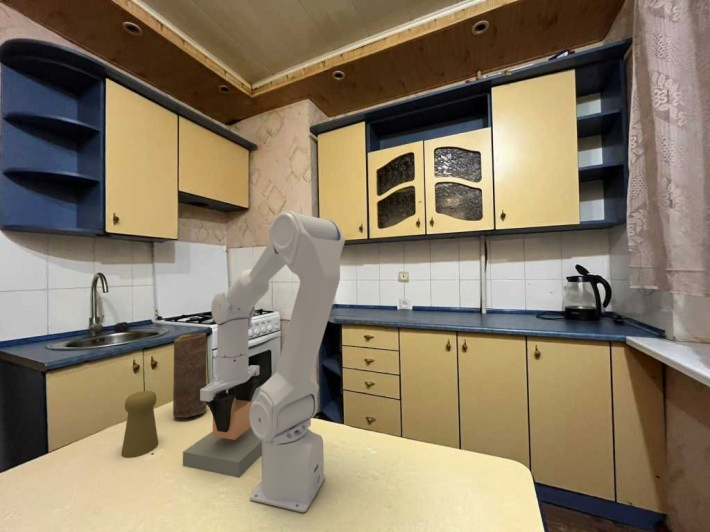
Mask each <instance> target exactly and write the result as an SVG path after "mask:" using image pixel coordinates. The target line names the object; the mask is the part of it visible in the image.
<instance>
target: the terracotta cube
mask: <svg viewBox="0 0 710 532" xmlns="http://www.w3.org/2000/svg"><path fill="white" fill-rule="evenodd" d="M251 405H252V401H243V400H235V399H234V401H233V404H232V408H231V415H230V426H229V430H228V431H227V432H220V431H217V428H216V424H215V421H214V417H213V416H212V431H213V436H214V437H220V438H226V439H232V440H235V439H237V438H238V437H239V436H240V435H242V434H243V433H244V432H245V431H247V430H248V429H249V428H250V427H251V425H250V419H249V413H250V408H251Z"/></svg>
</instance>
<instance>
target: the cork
mask: <svg viewBox="0 0 710 532" xmlns="http://www.w3.org/2000/svg"><path fill="white" fill-rule="evenodd" d="M156 404H157V394H156V393H155V392H154V391H152V390H143V391H138V392H135V393H132V394H130V395H129V396H128V397H127V398H126V400H125V402H124V410H125V412H126V413H127V418H126V425H125V430H124V437H123V442H122V449H121V454H120V456H121V457H123V458H125V459H127V458H129V459H130V458H131V459H132V458H137V457H141V456H143V455H146V454H149V453H151V452H152V451H154V450H155V449H156V448H157V447H158V446H159V439H158V438H159V437H158V431H157V424H156V418H155V410H154V407H155V405H156Z"/></svg>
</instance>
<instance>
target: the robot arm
mask: <svg viewBox="0 0 710 532" xmlns="http://www.w3.org/2000/svg"><path fill="white" fill-rule="evenodd" d="M268 242H269V243H268V244H267V246H266V247H265V249H264V250H263V252H262V253H261V255H260V256H259V258H258V260H257V261H256V263H255V265H253V267H252V269H249V268H248V269H244V270H242V272H240V274H239V276H238V277H237V278H236V279H235V281H234V282H233V283H232V285H231V286H230V287H229V288H228V290H227V291H224V292H222V293H220V292H219V293H216V294H215V295H214V297H213V299H212V302H211V306H210V307H211V316H212V320H213V321H214V322H215V323H216V324H217V326H216V327H217V331H216V332H217V333H216V334H217V335H216V337H217V339H216V340H217V348H216V349H217V351H216V352H217V353H216V354H217V361H216V362H217V363H216V364H217V365H216V366H217V367H216V368H217V370H216V372H217V374H214V375H213V380H212V381H211V382H209V383H208V384H207V386H206V387H204V388H202V389H200V400H201V401H205V403H206V404H207V408H209V409H208V410H210V412H211V414H212V418H213V417H214V421H215V424H216V428H217V431H220V432H227V431H228V430H229V426H230V415H231V408H232V404H233V401H234V399H235V400H243V401H251V408H250V413H249V419H250V425H251V428H252V430H253V432H254V434H255V435H256V436H257V437H258V438H259V439H260V440H262V455H261V483H259V485H258V486H257V487H256V488H255V489H254V490H253V492H252V493H251V494H250V495H249V499H250V500H251V501H253V502H258V503H262V504H266V505H271V506H275V507H279V508H282V509H288V510H292V511H296V512H301V513H305V512H307V511H308V508H309V507H310V505H311V503H312V502H313V500H314V499H315V497H316V494H317V493H318V491H319V489H320V488H321V486H322V484H323V482H324V480H325V479H326V473H324V470H325V469H324V466H325V465H324V461H325V460H324V459H325V458H324V440H323V437H322V436H321V434H318V433H315V432H313V431H312V430H310V429H309V428H310V427H311V425H312V424H311V423H312V422H311V421H312V420H311V419H313V418H314V417H315V416H316V414H317V411H318V405H319V404H318V393H319V389H320V386H319V384H318V383H317V381H316V379H314V377H313V376H312V375H313V372H314V367H315V364H316V361H317V358H318V355H319V351H320V348H321V345H322V341H323V338H324V334H325V331H326V328H327V324H328V321H329V317H330V315H331V311H332V308H333V304H334V301H335V297H336V294H337V291H338V288H339V284H340V280H341V256H342V252H343V249H344V245H345V242H346V238H345V236H344V234H343V232H342V230H341V228H340V225H339V224H338V223H337V222H336V221H334V220H332V219H329V218H326V219H325V218H320V217H315V216H312V215H305V214H300V213H296V212H294V211H292V210H284V211H282V212H281V211H280V213H279V214H277V216H276V218H275V219H274V221H273V223H272V225H270V227H269V230H268ZM285 266H287V267H288V269H289V270H290V271H291V273H293V274H295V275H297V277H298V280H299V286H298V289H297V293H296V297H295V300H294V305H293V308H292V312H291V315H290V319H289V324H288V326H287V327H288V328H287V331H286V334H285V337H284V341H283V345H282V349H281V353H280V357H279V360H278V365H277V369H276V371H275V372H274V374H273V375H272V376H271V377H270V378H268V379H267V380H266V382H264V383H263V385H261V386H260V388H259V390H258V393H257V396H256V398H255V399H254V400H253V397H254V394H255V392H256V390H257V387H258V386H259V385H260V379H257V378H254V377H257V376H259V375H260V365H253V364H251V365H249V330H250V329H251V327H252V320H253V317H254V314H255V310H256V309H255V308H256V305H257V304H258V303H259V301H260V300H261V299H262V298H263V297H264V296H265V295H266V294H267V292H269V289H270V282H269V281H270V280H271V279H273V277H274V276H276V274H277V273H278V272H280V270H281V269H282V268H284V267H285ZM230 389H232V390H233V394H229V392H227V391H228V390H230ZM252 400H253V401H252Z"/></svg>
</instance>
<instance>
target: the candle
mask: <svg viewBox="0 0 710 532" xmlns="http://www.w3.org/2000/svg"><path fill="white" fill-rule="evenodd" d="M207 378H208V377H207V333H206V332H203V333H193V334H188V333H187V334H182V335H179V337H177V338H175V339H174V340H173V385H172V386H173V390H172V391H173V395H172V398H173V399H172V401H173V402H172V405H173V406H172V410H173V411H172V416H173V417H175V418H190V417H194V416H198V415H201V414H204V413H206V412H207V411H208V405H207V404H206V403H205V401H201V400H200V389H202V388H204V387H206V386H207V385H208V384H207V381H208V380H207ZM206 410H207V411H206Z"/></svg>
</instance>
